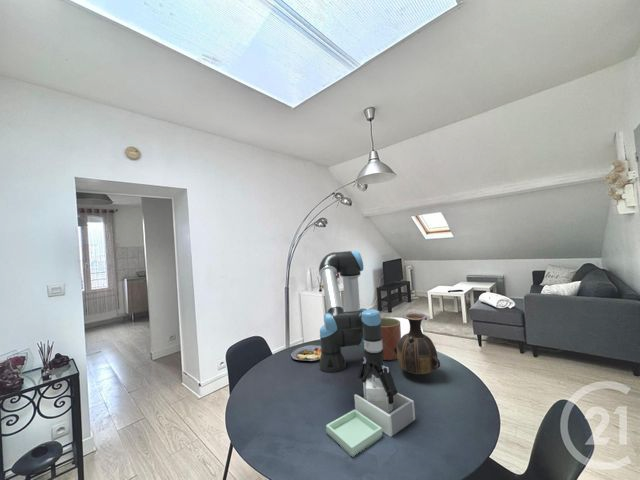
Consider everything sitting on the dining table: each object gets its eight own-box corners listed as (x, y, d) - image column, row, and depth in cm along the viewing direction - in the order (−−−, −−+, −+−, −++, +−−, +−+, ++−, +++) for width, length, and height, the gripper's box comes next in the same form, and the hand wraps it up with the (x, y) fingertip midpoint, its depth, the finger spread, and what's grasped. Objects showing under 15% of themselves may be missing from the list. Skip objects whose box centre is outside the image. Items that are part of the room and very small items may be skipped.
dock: (355, 412, 105) (354, 394, 105) (379, 398, 113) (378, 382, 113) (390, 437, 90) (389, 416, 91) (415, 419, 98) (413, 400, 99)
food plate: (335, 348, 172) (334, 343, 173) (324, 365, 150) (323, 358, 151) (300, 347, 181) (300, 342, 181) (285, 363, 159) (285, 357, 159)
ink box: (390, 420, 99) (387, 384, 100) (368, 418, 101) (365, 383, 101) (388, 406, 108) (386, 373, 108) (368, 405, 109) (365, 373, 110)
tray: (326, 433, 94) (326, 425, 95) (355, 416, 103) (354, 409, 103) (352, 457, 83) (351, 448, 83) (382, 436, 91) (381, 427, 91)
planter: (407, 360, 148) (404, 325, 148) (373, 363, 148) (371, 327, 149) (397, 347, 167) (395, 316, 167) (368, 349, 167) (365, 318, 168)
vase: (388, 370, 138) (384, 313, 139) (417, 361, 145) (412, 308, 146) (420, 391, 117) (414, 324, 118) (451, 379, 124) (446, 316, 125)
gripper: (347, 344, 113) (351, 395, 112) (390, 361, 93) (395, 423, 92) (359, 339, 117) (363, 388, 116) (404, 355, 97) (408, 414, 97)
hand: (378, 404), depth 104 cm, fingers closed on ink box, 11 cm apart
